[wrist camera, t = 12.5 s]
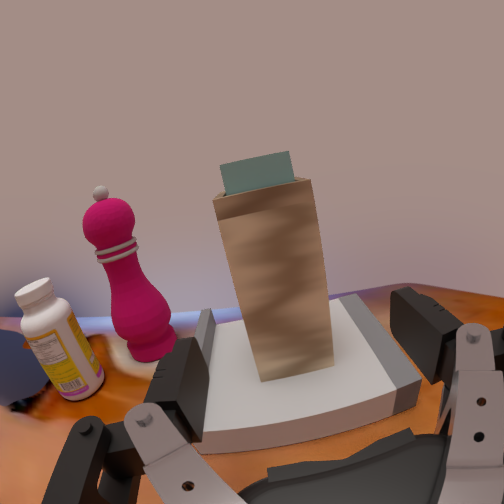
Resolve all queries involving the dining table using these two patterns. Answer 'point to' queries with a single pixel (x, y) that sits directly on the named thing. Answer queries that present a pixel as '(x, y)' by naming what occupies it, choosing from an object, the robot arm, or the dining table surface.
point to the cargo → (257, 173)
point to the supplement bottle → (58, 341)
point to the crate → (279, 276)
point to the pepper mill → (128, 280)
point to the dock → (302, 384)
